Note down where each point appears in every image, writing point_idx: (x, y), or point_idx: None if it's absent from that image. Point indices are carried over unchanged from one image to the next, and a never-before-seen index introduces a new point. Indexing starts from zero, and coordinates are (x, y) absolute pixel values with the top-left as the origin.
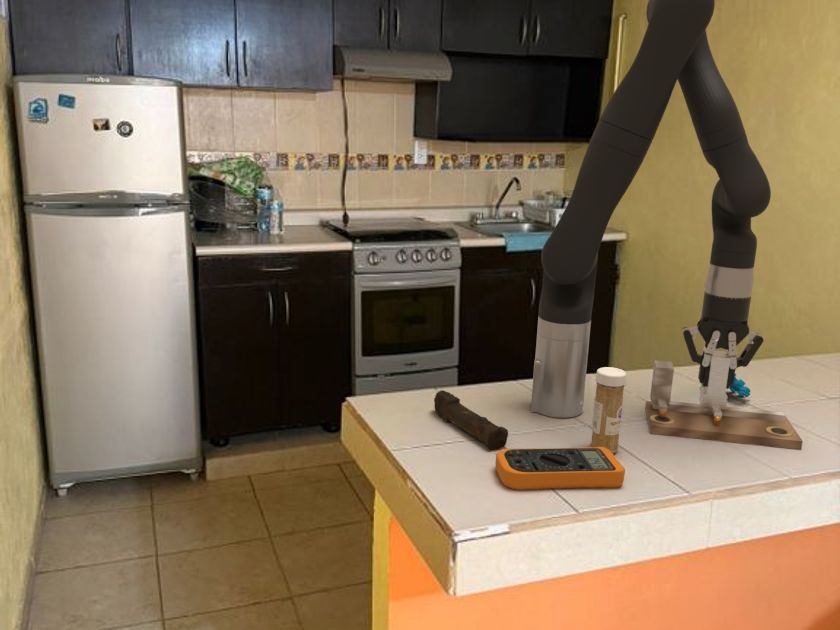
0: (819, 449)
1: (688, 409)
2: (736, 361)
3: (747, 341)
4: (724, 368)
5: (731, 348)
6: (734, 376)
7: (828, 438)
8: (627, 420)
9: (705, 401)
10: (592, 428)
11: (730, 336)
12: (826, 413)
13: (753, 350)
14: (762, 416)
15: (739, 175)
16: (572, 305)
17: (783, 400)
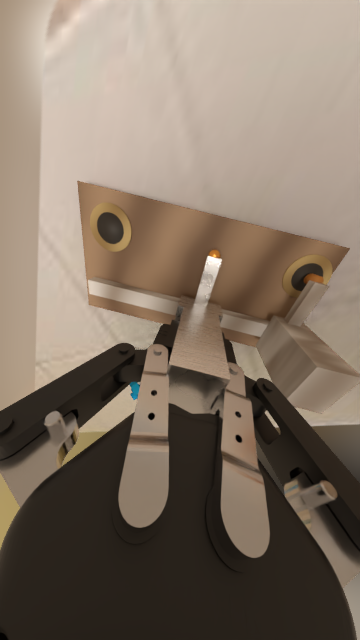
0: (59, 191)
1: (234, 313)
2: (146, 359)
3: (75, 432)
4: (187, 342)
5: (157, 401)
6: (134, 383)
7: (43, 244)
8: (335, 304)
9: (216, 309)
10: None
11: (156, 478)
12: (42, 327)
13: (71, 382)
14: (123, 286)
15: None
16: None
17: (84, 360)
